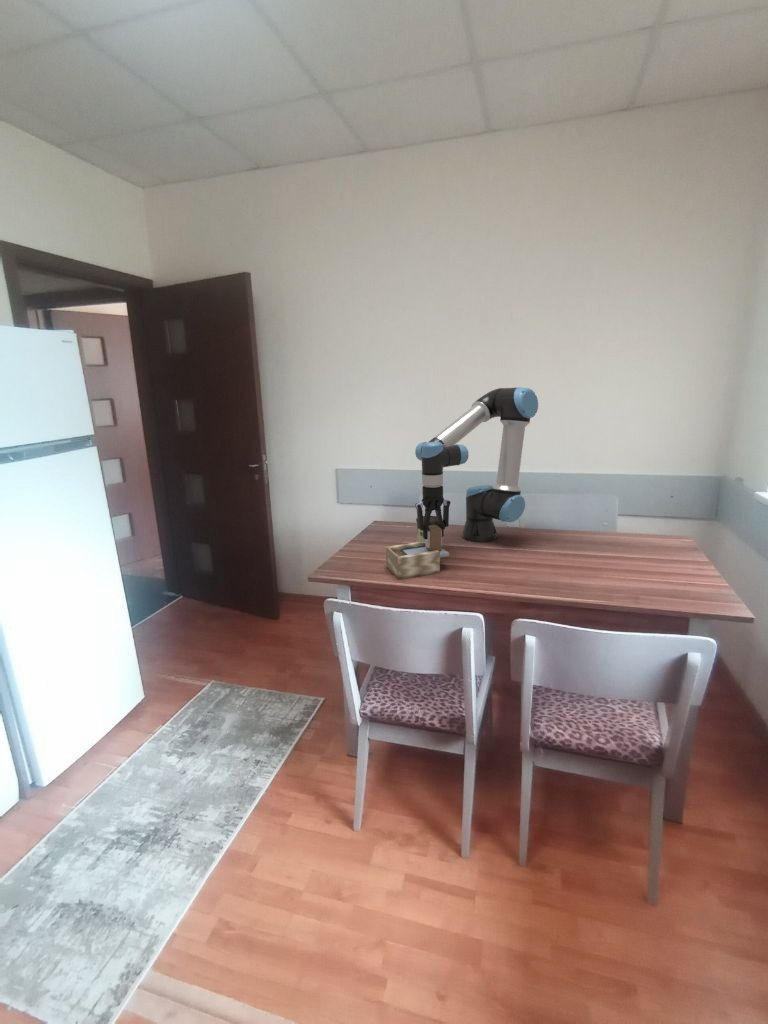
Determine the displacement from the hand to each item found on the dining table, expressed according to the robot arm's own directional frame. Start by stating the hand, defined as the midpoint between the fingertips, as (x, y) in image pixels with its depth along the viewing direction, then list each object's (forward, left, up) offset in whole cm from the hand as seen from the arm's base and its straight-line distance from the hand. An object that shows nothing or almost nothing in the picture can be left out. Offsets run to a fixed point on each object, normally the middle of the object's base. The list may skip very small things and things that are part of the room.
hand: (433, 546), depth 181 cm
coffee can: (-5, -16, -8) cm, 19 cm away
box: (+9, 0, -8) cm, 12 cm away
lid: (+4, 0, -3) cm, 4 cm away
